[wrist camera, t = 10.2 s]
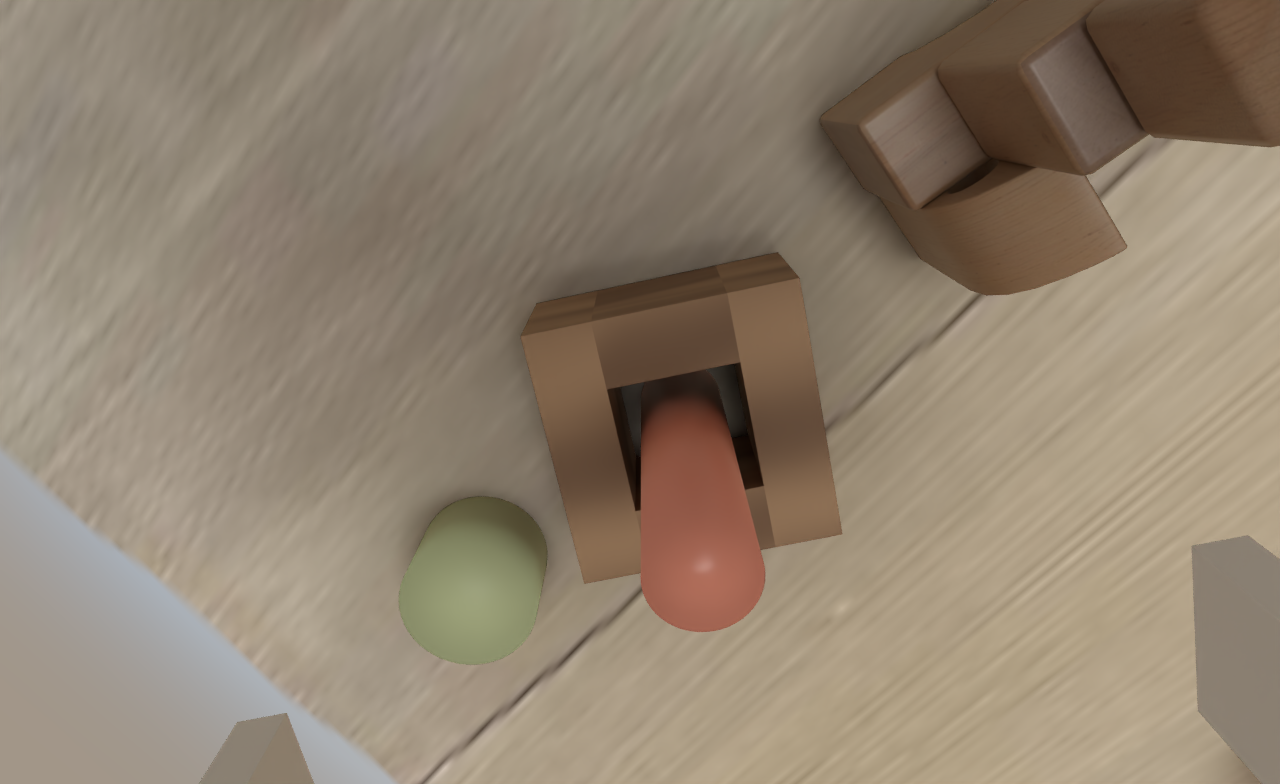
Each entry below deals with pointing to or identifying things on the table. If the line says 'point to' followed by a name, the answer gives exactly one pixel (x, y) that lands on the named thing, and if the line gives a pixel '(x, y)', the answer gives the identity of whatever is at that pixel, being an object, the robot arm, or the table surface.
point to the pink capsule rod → (694, 509)
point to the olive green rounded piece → (475, 581)
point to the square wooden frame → (667, 346)
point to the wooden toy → (1050, 123)
